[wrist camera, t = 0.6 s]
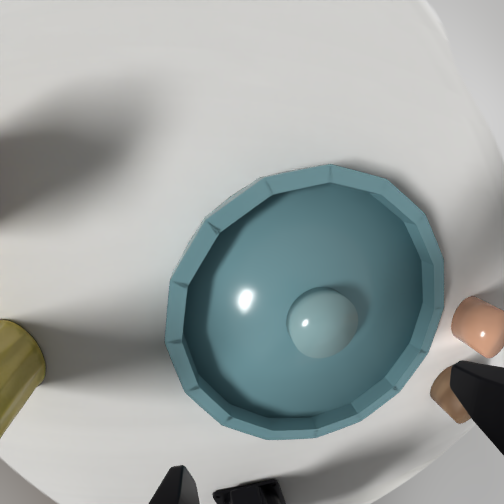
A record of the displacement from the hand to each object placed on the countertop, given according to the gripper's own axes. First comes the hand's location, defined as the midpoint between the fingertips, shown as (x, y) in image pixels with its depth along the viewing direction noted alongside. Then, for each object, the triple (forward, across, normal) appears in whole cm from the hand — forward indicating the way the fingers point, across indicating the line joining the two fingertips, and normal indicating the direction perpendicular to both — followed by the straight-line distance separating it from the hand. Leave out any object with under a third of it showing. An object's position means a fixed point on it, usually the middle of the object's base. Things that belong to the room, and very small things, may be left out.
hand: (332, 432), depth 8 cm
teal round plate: (+13, -3, +2) cm, 14 cm away
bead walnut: (+13, -16, +16) cm, 26 cm away
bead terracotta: (+13, -18, +9) cm, 24 cm away
